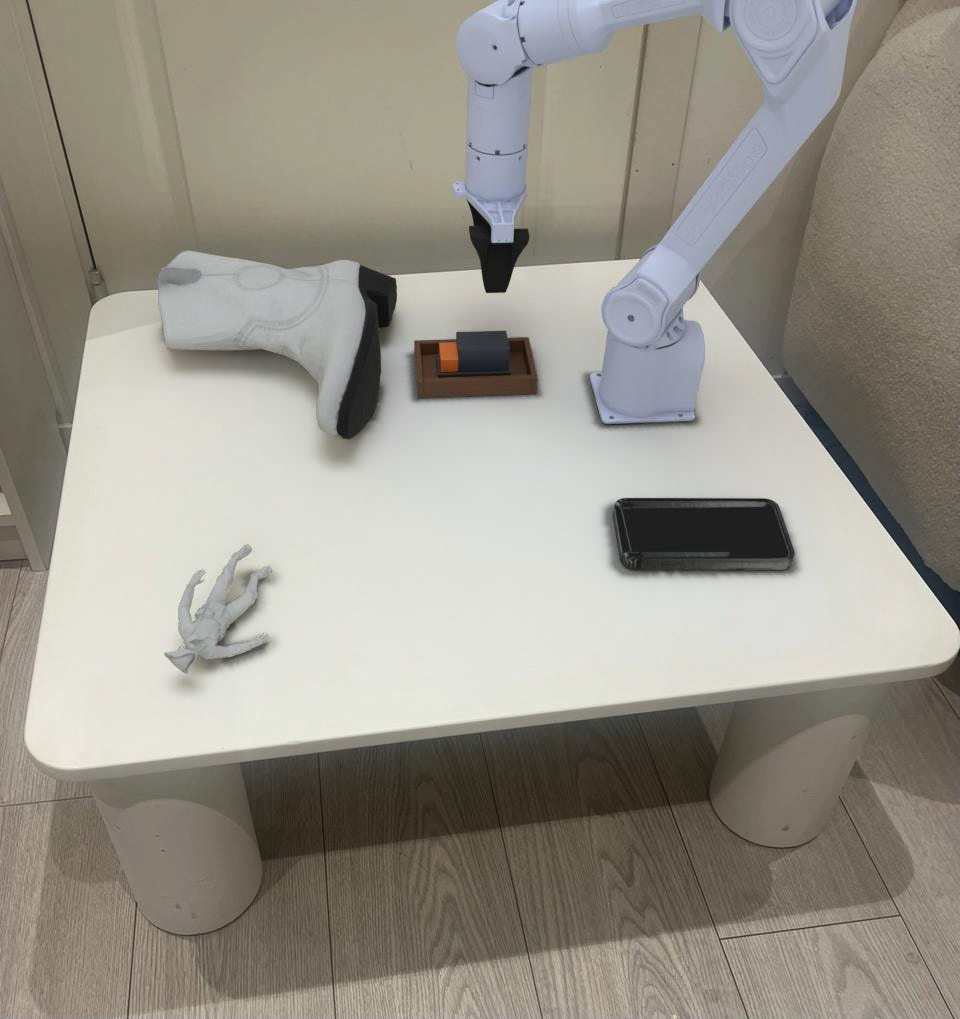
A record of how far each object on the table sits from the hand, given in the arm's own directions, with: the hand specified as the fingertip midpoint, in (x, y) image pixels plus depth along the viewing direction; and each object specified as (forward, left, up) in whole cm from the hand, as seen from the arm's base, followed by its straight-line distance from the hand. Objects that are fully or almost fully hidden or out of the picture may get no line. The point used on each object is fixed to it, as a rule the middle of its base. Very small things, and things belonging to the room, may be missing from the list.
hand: (491, 270), depth 103 cm
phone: (-16, +30, -9) cm, 35 cm away
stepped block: (+2, +5, -9) cm, 10 cm away
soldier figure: (+25, +37, -10) cm, 46 cm away
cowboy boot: (+24, +3, -10) cm, 26 cm away
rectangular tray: (+2, +5, -9) cm, 11 cm away
